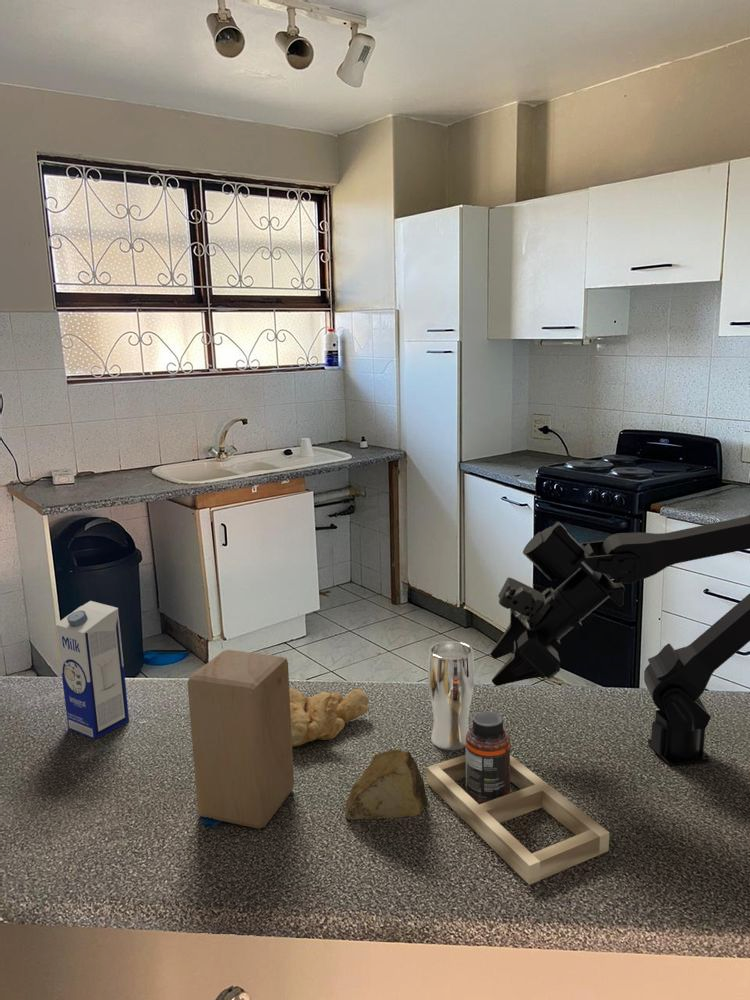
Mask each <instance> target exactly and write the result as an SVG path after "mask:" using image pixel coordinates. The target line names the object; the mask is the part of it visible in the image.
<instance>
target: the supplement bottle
mask: <svg viewBox="0 0 750 1000" xmlns="http://www.w3.org/2000/svg"><path fill="white" fill-rule="evenodd" d="M465 755H466V778H465V789H466V791H465V792H466V793H467V794H468V795H469V796H471V797H472V798H473V799H474V800H475V801H476V802H477V803H478V804H482V803H485V802H488V801H491V800H493V799H496V798H499V797H502V796H505V795H507V794H510V792H511V790H510V788H511V781H510V755H511V737H510V734H509V732H508V731H507V730H506V729H505V728H504V720H503V717H502V715H501V714H499V713H497V712H494V711H491V710H490V711H489V710H485V711H484V710H483V711H479V712H477V713H475V714H474V715H473V717H472V727H470V728H469V730H468V732H467V734H466V748H465Z"/></svg>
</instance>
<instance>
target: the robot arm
mask: <svg viewBox="0 0 750 1000" xmlns="http://www.w3.org/2000/svg"><path fill="white" fill-rule="evenodd" d="M746 550H750V514H748V515H746V516H742V517H736V518H731V519H727V520H722V521H717V522H713V523H708V524H703V525H698V526H693V527H689V528H685V529H680V530H675V531H669V532H665V533H655V532H653V533H651V532H639V531H638V532H637V531H636V532H620V533H614V534H611V535H609V536H608V537H606V538H605V540H595V541H588V542H587V541H586V542H580V543H579V542H578V541H577V540H576V539H575V538H574V537H573V536H572V535H571V534H570V533H569V531H567V529H566V528H565V525H563V524H562V523H561V522H560V521H556V522H555V523H554V524H553V525H552V526H549V527H547V528H545V529H543V530H542V531H538V532H537V533H535V535H534V536H533V537H531V539H530V540H529V541H528V542H527V544H526V545H525V546H524V548H523V550H522V554H523V555H524V557H526V558H527V559H528V560H529V561H530V562H531V563H532V564H533V565H534V566H535V567H536V568H537V569H538V570H539V571H540V572H541V573H542V574H543V575H544V576H545V577H546V578H547V579H548V580H549V581H553V582H554V581H557V582H558V583H559V582H562V583H561V584H560V585H559V586H557V587H555V589H553V587H548V588H546V589H545V590H543V591H542V592H540V591H539V590H536V589H535V588H533V587H531V586H529V585H527V584H525V583H523V582H521V581H519V580H517V579H514V578H512V577H507V578H506V580H505V582H504V584H503V586H502V588H501V590H500V592H499V593H498V595H497V596H498V599H499V600H498V604H499V605H500V606H501V607H503V608H505V609H508V610H509V612H510V613H509V618H510V619H509V625H508V626H507V627H506V629H505V631H504V632H503V634H502V636H501V637H500V638H499V640H498V641H497V643H496V644H495V645H494V647H493V649H492V650H491V652H490V656H491V657H492V658H493V659H494V660H495V659H496V660H497V659H499V658H502V657H504V656H507V655H508V654H509V655H510V654H512V653H513V654H512V655H511V656H510V658H509V659H508V660H507V661H506V663H504V664H503V666H502V667H501V668H499V670H498V671H497V673H496V674H495V675H494V676H493V678H492V679H491V683H492V684H493V685H494V686H495V687H499V686H502V685H507V684H511V683H515V682H520V681H526V680H529V679H530V680H532V679H537V678H541V679H545V678H546V679H548V680H551V679H552V678H553V677H555V676H556V675H557V674H559V672H561V659H560V657H559V652H558V651H557V649H558V648H559V646H561V642H560V641H561V639H562V638H563V637H564V636H565V635H567V634H568V633H569V632H570V631H571V630H572V629H575V630H576V631H578V630H580V629H581V628H582V627H583V624H582V621H583V620H584V619H585V618H586V617H587V616H589V615H590V614H591V613H592V612H593V611H594V610H596V609H597V608H598V607H599V606H601V605H602V604H603V603H604V602H605V601H607V600H608V599H609V598H610V599H611V600H612V601H613V602H614V603H615V604H616V605H617V606H618V607H623V606H624V604H625V603H624V593H625V590H626V588H625V586H624V585H623V584H633V583H636V582H639V581H642V580H645V579H647V578H650V577H653V576H655V575H657V574H659V573H660V572H661V571H663V570H664V569H667V568H668V567H671V566H674V565H677V564H681V563H687V562H692V561H695V560H701V559H705V558H711V557H717V556H720V555H726V554H730V553H736V552H741V551H746ZM607 575H609V576H610V578H611V579H613V580H614V581H616V582H613V581H612V580H611V579H610V578H609V577H608V576H607ZM748 643H750V592H749V593H748V594H747V595H745V597H744V598H742V599H741V600H740V601H739V602H738V603H736V604H735V605H734V606H733V607H732V608H731V609H730V610H728V611H727V612H726V613H725V614H724V615H723V616H721V617H720V618H719V619H718V620H717V621H716V622H715V623H713V624H712V625H711V626H710V627H709V628H707V629H706V630H705V631H704V632H703V633H702V634H701V635H699V636H698V637H697V638H696V639H695V640H694V641H692V642H691V643H690V644H688V645H687V646H684V647H683V646H682V647H680V648H677V649H676V648H674V647H673V646H672V644H670V643H666V645H664V646H663V647H662V649H661V650H660V651H659V652H658V653H657V654H656V655H654V656H652V657H650V658H649V657H648V658H647V660H648V664H647V666H646V667H645V669H644V671H643V680H644V684H645V686H646V689H647V691H648V693H649V695H650V697H651V699H652V702H653V704H654V705H655V707H656V708H657V710H655V716H654V717H655V718H654V720H653V721H652V723H651V738H650V739H648V740H647V745H649V746H650V747H651V749H653V750H654V751H655V753H657V755H659V756H660V757H661V758H662V760H663V761H664V762H666V764H667V765H668V766H680V765H688V764H694V763H695V764H696V763H705V762H710V761H711V757H710V756H709V754H707V753H706V752H705V751H704V749H705V737H706V729H707V726H708V725H709V723H710V720H711V719H712V717H711V714H710V713H709V711H708V710H707V708H706V706H705V704H704V703H703V700H702V699H701V698H700V697H701V696H702V695H703V694H704V693H705V690H706V688H707V686H708V684H709V683H710V682H709V681H710V680H711V677H712V676H713V674H714V672H716V670H717V669H719V667H721V666H722V665H723V664H725V663H726V662H727V661H728V660H729V659H730V658H732V657H734V655H735V654H737V653H738V652H739V651H740V650H741V649H743V648H744V647H745V646H746V645H747V644H748Z"/></svg>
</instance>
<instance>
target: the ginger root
mask: <svg viewBox="0 0 750 1000" xmlns="http://www.w3.org/2000/svg"><path fill="white" fill-rule="evenodd" d="M289 693H290V713H291V734H292V747H299V746H302V745H303V744H304V745H305V744H306V743H308V742H313V741H315V740H320V741H329V740H331V739H333V738H335V737H338V734H339V733H340V732H341V731H342V730H343V729H344V727H345V725H346V723H348V722H351V721H353V720H355V719H357V718H359V717H361V716H363V715H365V714H366V713H368V712H369V711H370V706H369V702H370V701H369V697H368V696H367V693H366V692H365V691H364V690H362V689H360V688H356V689H353V690H350V692H349V693H347V694H346V696H344V697H343V695H342V694H340V693H339V692H332V693H329V692H326V691H321V692H320V693H317V694H315V695H313V696H311V697H309V696H305V695H304V693H303V692H302V691H300V690H299V691H298V690H297V689H295V688H293V687H291V686H289Z"/></svg>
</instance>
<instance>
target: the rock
mask: <svg viewBox="0 0 750 1000" xmlns="http://www.w3.org/2000/svg"><path fill="white" fill-rule="evenodd" d="M424 781H425V780H424V778H423V777H422V775H421V772H420V769H419V767H418V764H417V762H416V761H415V758H414V757H413V756H412V755H411V752H410V751H408V750H407V751H403V750H402V749H397V748H396V749H395V748H394V749H389V750H387V751H383V752H381V753H376V754H374V756H373V757H372V759H371V761H370V763H369V765H368V766H367V768H365V770H364V772H363V773H362V775H361V776H360V778H359V779H358V780H357V781H355V782H354V784H353V785H352V787H351V790H350V793H349V795H348V797H347V799H346V801H345V807H344V809H345V818H346V820H358V819H359V820H362V819H366V820H368V819H369V820H370V819H381V818H382V819H383V818H384V819H392V818H397V819H398V818H402V817H416V816H419V815H420V814H421V813H422V812H423V810H424V809H425V807H426V806H427V800H428V795H427V793H426V786H425V782H424Z"/></svg>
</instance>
